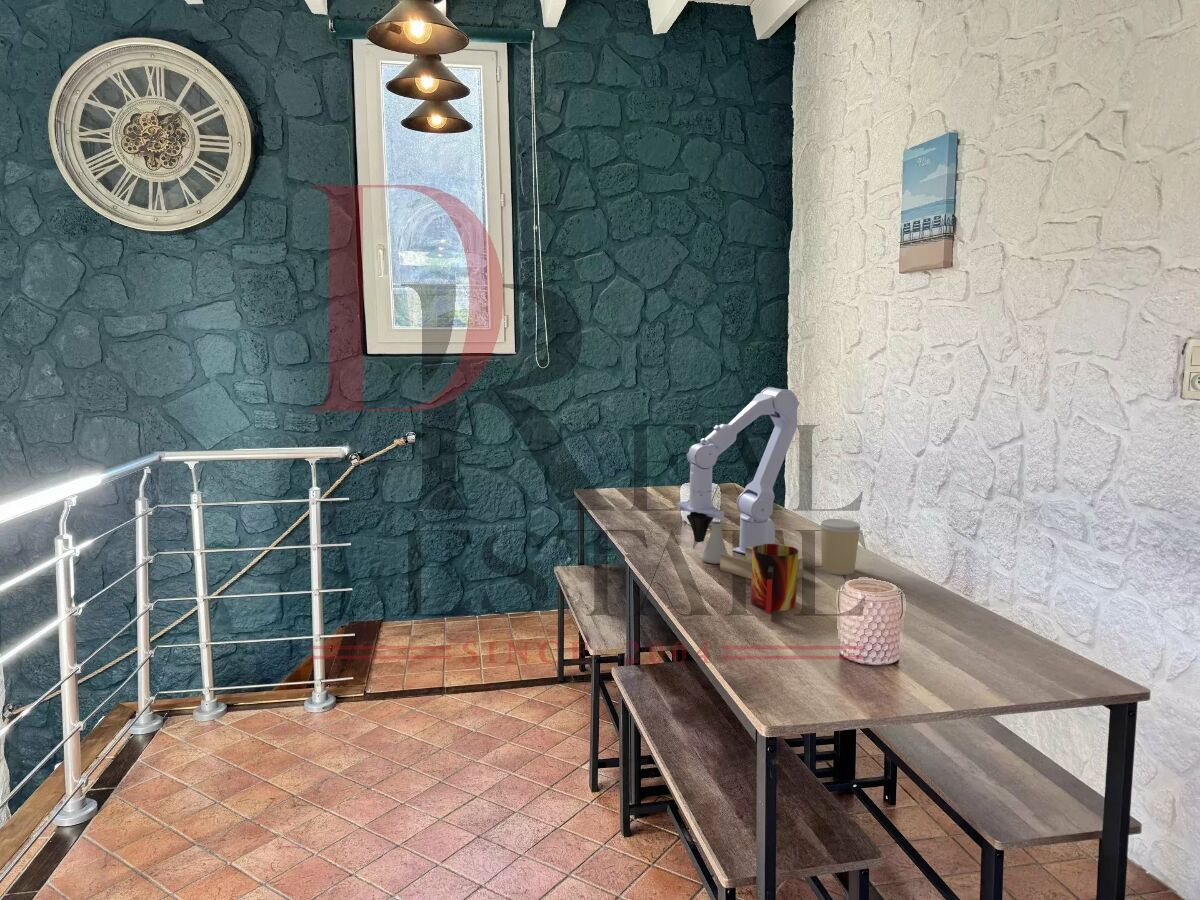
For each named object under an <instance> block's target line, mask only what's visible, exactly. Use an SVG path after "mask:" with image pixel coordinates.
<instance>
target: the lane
mask: <svg viewBox="0 0 1200 900" xmlns="http://www.w3.org/2000/svg"><path fill="white" fill-rule="evenodd" d="M752 554H753V548H751V547H746V551H745V554H744V558H745V559H744V558H741V557H736V556H732V555H729V554H728V555H726V554H720V564H719V570H720V571H723V572H727V573H729V574H733V575H737V576H739V577H742V578H746V579H750V580H752ZM804 569H805V557H804V556H798V570H797V581H798V580H800V579H803V578H804V572H805V571H804Z"/></svg>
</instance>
